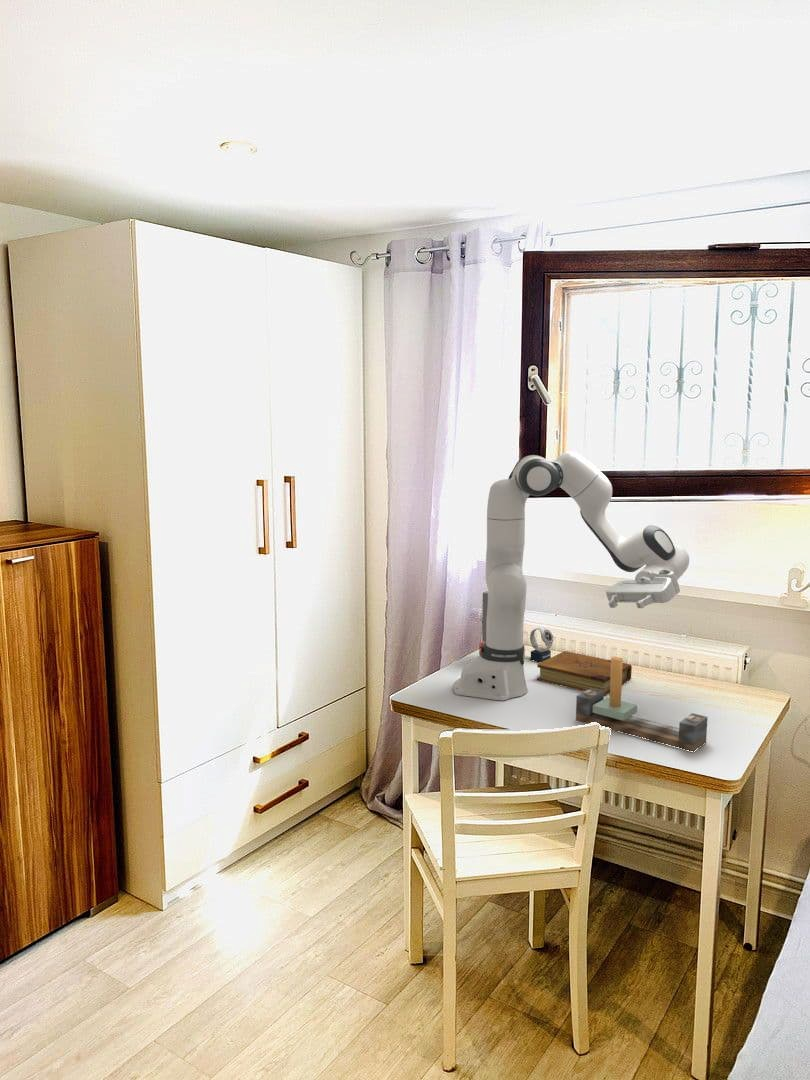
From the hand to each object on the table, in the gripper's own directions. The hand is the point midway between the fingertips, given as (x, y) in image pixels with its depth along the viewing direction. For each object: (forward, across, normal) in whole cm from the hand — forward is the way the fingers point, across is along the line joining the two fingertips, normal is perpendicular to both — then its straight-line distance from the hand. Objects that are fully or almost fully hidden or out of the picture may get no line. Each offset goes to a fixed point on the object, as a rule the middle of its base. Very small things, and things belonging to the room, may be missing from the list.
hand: (624, 605), depth 229 cm
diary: (-2, -29, +29) cm, 41 cm away
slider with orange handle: (+19, +1, +22) cm, 29 cm away
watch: (-8, -51, +26) cm, 57 cm away
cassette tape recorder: (+4, -56, +21) cm, 60 cm away
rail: (+19, +7, +27) cm, 34 cm away
